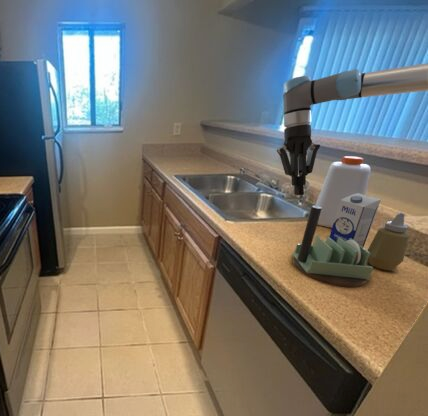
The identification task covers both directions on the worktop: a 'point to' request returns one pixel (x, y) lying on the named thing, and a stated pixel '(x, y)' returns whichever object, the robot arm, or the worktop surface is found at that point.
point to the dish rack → (331, 253)
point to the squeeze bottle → (389, 244)
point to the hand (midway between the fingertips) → (298, 194)
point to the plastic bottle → (341, 186)
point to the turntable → (332, 278)
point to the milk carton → (354, 218)
